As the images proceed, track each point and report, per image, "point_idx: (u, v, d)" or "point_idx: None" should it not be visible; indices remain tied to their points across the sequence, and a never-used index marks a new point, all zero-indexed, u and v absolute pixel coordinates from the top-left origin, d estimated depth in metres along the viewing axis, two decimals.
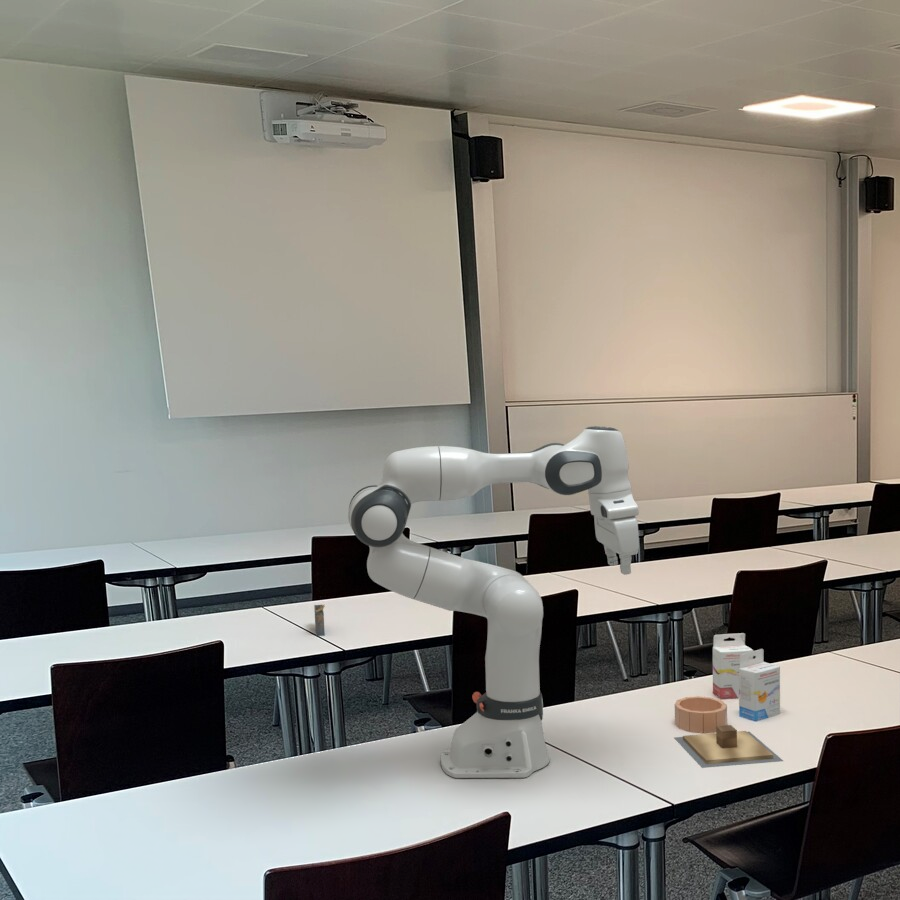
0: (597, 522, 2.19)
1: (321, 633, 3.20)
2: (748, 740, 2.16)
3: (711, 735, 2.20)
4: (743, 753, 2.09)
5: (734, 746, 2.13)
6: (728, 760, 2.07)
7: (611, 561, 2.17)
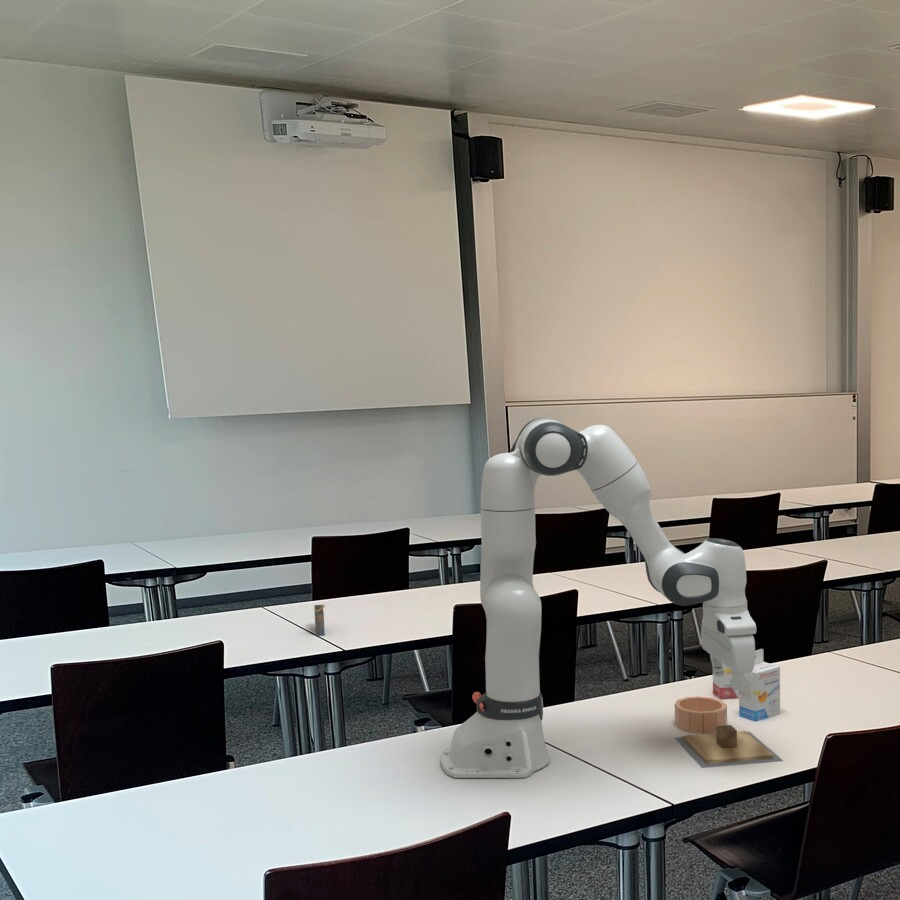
0: (705, 631, 2.19)
1: (321, 633, 3.20)
2: (748, 740, 2.16)
3: (711, 735, 2.20)
4: (743, 753, 2.09)
5: (734, 746, 2.13)
6: (728, 760, 2.07)
7: (717, 672, 2.17)
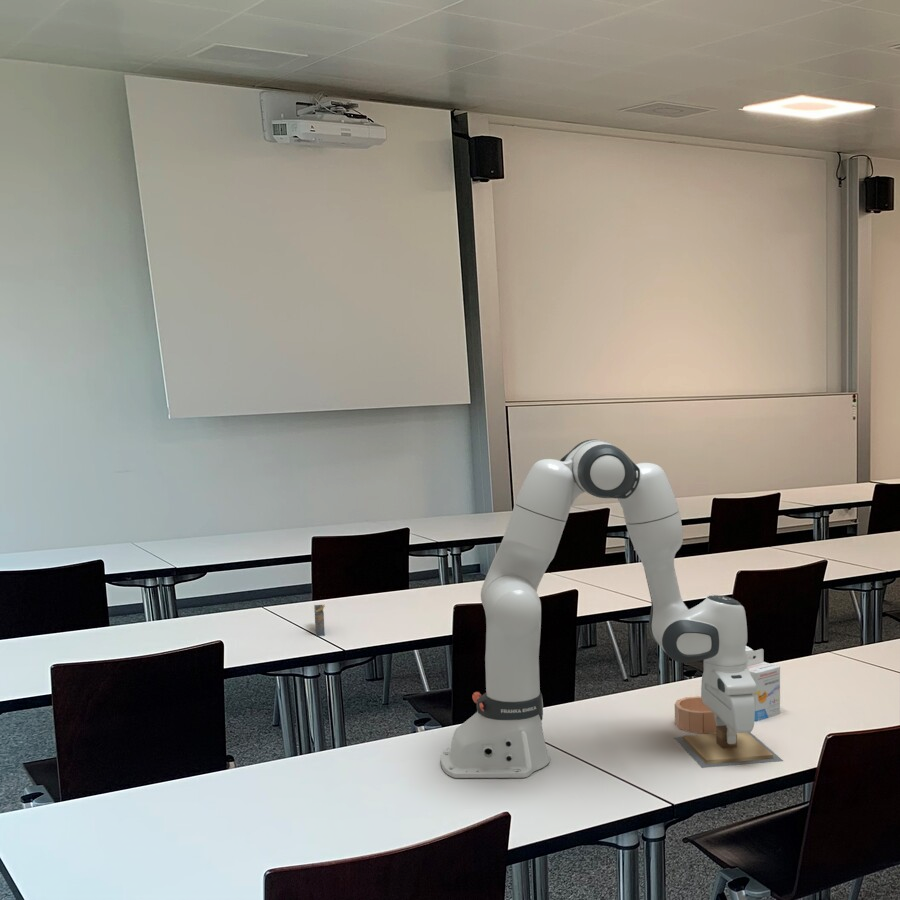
0: (705, 686, 2.20)
1: (321, 633, 3.20)
2: (748, 740, 2.16)
3: (711, 735, 2.20)
4: (743, 753, 2.09)
5: (734, 746, 2.13)
6: (728, 760, 2.07)
7: None
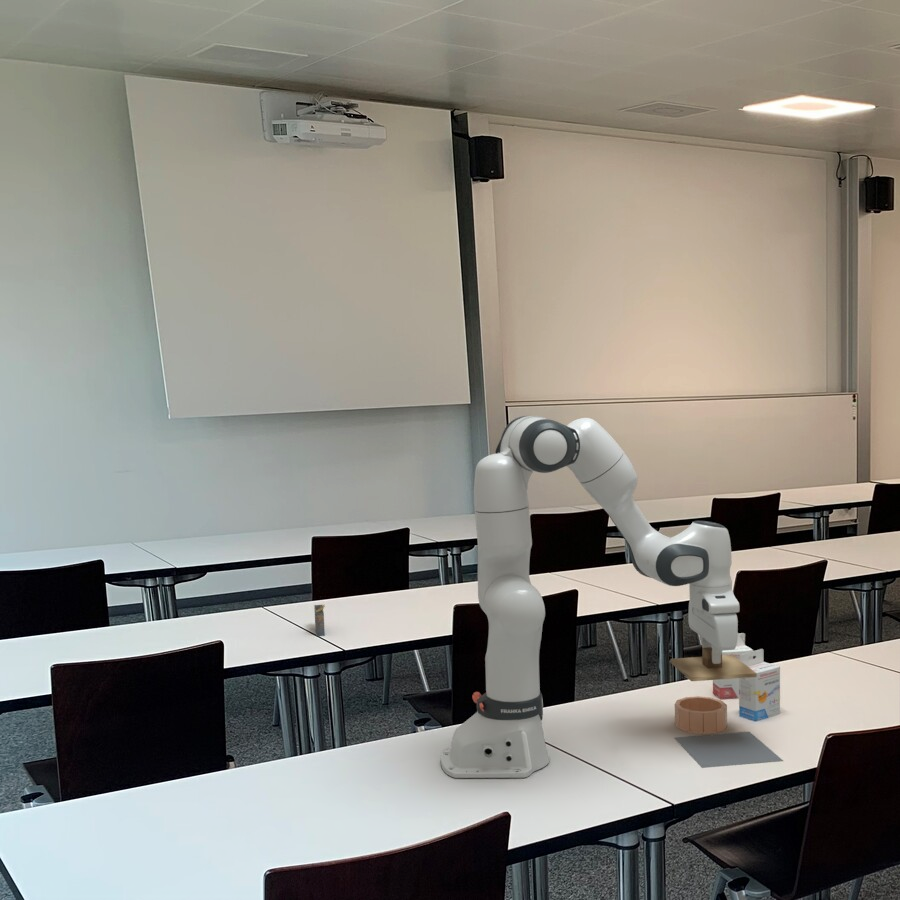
0: (692, 610, 2.27)
1: (321, 633, 3.19)
2: (733, 662, 2.23)
3: (698, 658, 2.26)
4: (727, 672, 2.16)
5: (719, 666, 2.19)
6: (712, 678, 2.14)
7: None
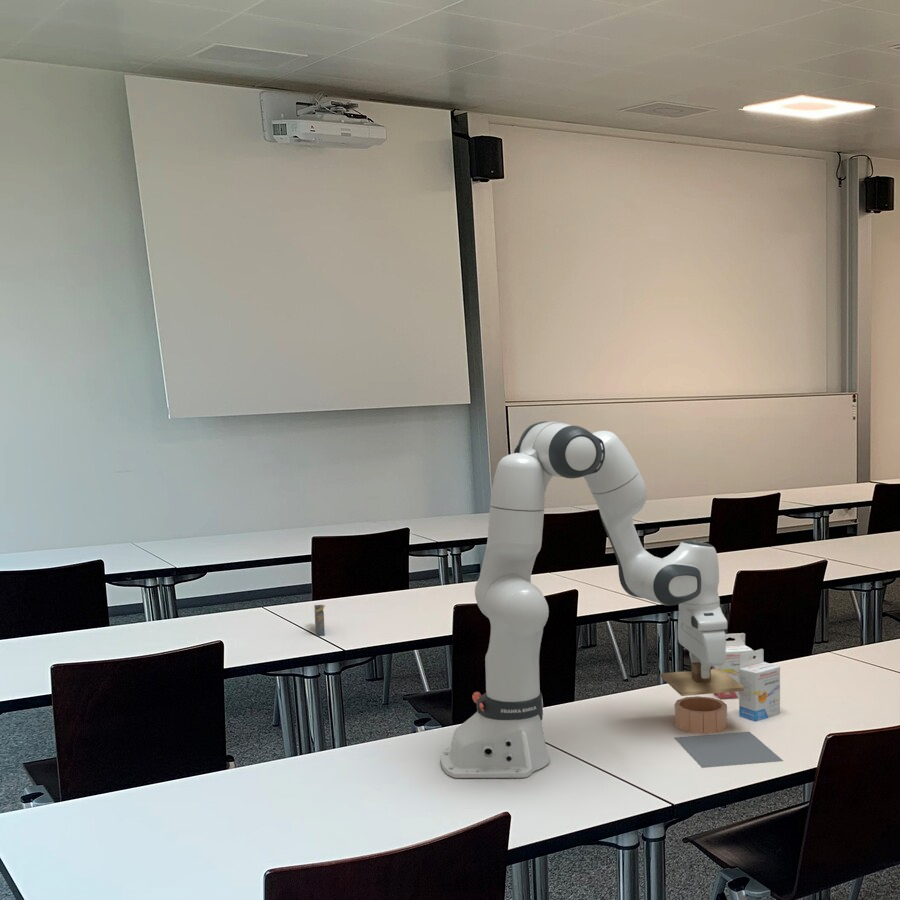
0: (681, 626, 2.34)
1: (321, 633, 3.19)
2: (721, 676, 2.30)
3: (687, 673, 2.34)
4: (716, 686, 2.23)
5: (708, 681, 2.27)
6: (702, 692, 2.21)
7: None
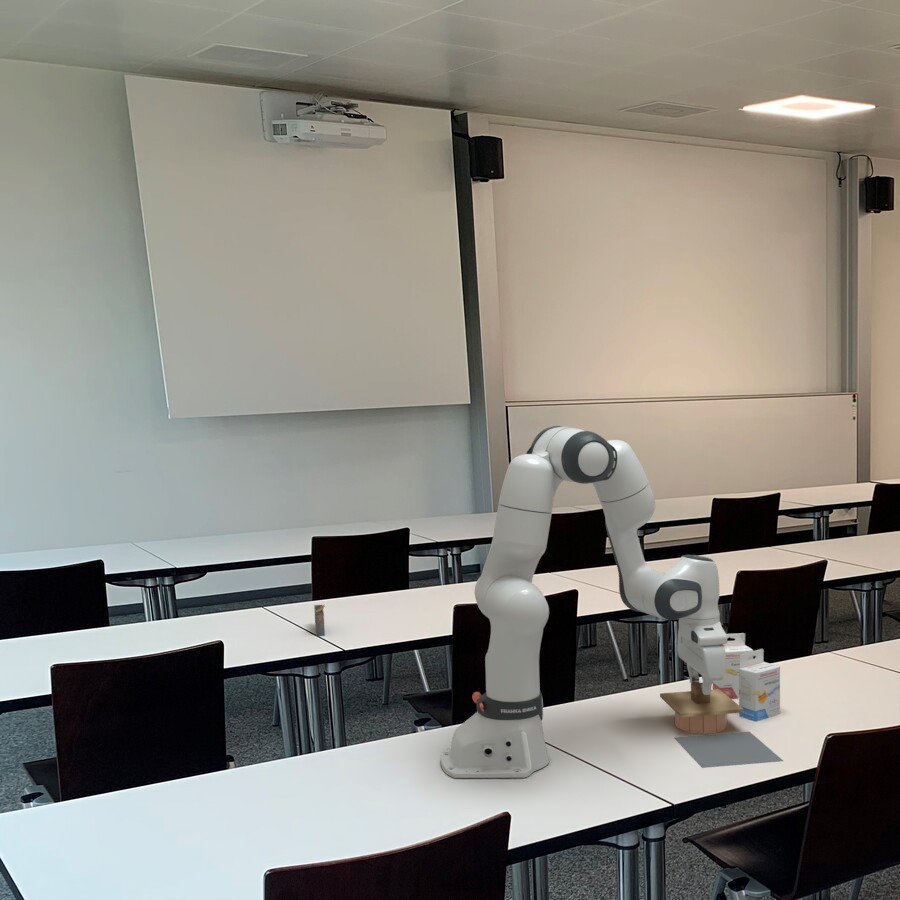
0: (681, 640, 2.35)
1: (321, 633, 3.19)
2: (721, 696, 2.31)
3: (686, 693, 2.34)
4: (715, 707, 2.24)
5: (707, 702, 2.27)
6: (701, 714, 2.21)
7: (693, 680, 2.31)
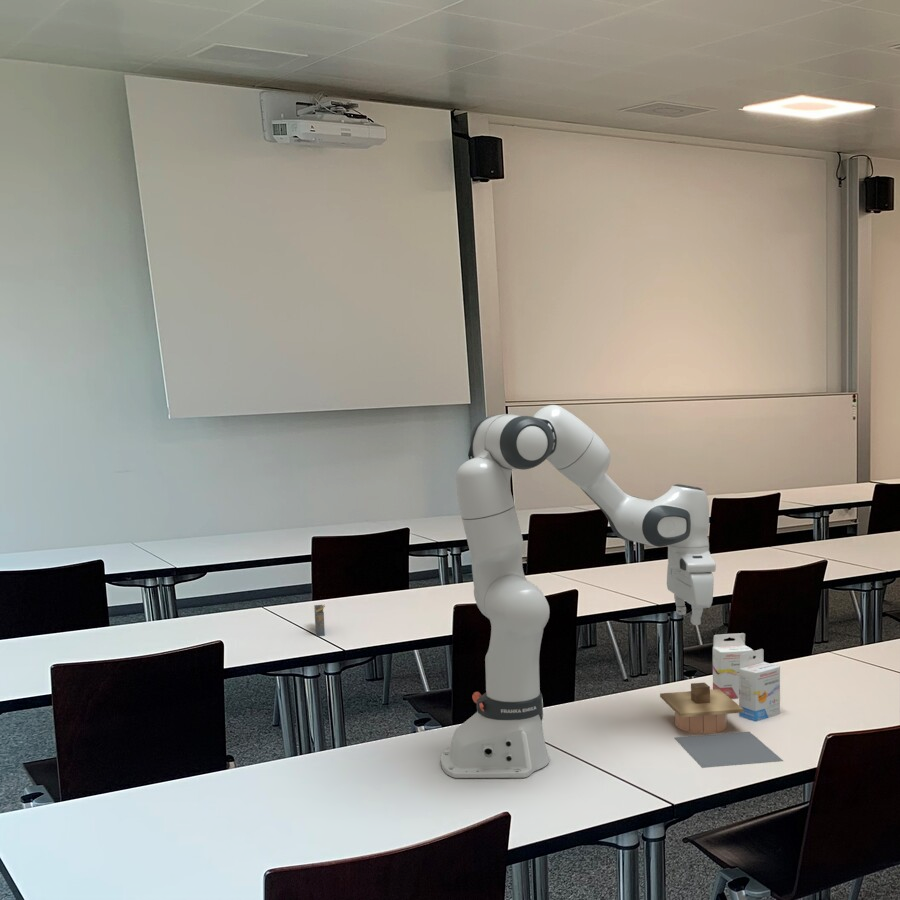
0: (670, 572, 2.34)
1: (321, 633, 3.19)
2: (721, 696, 2.31)
3: (686, 693, 2.34)
4: (715, 707, 2.24)
5: (707, 702, 2.27)
6: (701, 714, 2.21)
7: (680, 610, 2.32)
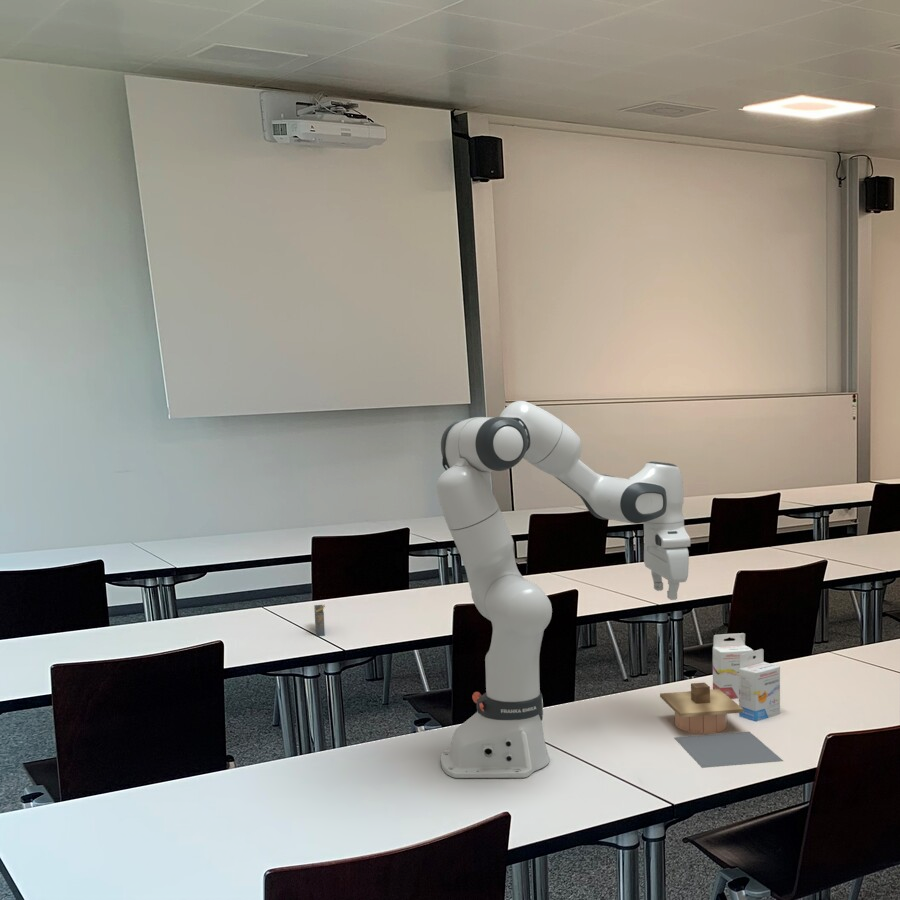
0: (647, 549, 2.37)
1: (321, 633, 3.19)
2: (721, 696, 2.31)
3: (686, 693, 2.34)
4: (715, 707, 2.24)
5: (707, 702, 2.27)
6: (701, 714, 2.21)
7: (657, 586, 2.35)
